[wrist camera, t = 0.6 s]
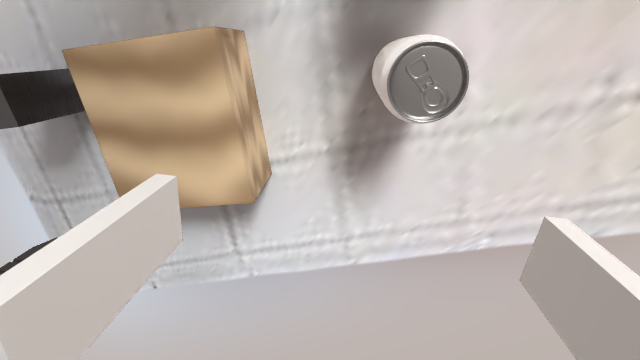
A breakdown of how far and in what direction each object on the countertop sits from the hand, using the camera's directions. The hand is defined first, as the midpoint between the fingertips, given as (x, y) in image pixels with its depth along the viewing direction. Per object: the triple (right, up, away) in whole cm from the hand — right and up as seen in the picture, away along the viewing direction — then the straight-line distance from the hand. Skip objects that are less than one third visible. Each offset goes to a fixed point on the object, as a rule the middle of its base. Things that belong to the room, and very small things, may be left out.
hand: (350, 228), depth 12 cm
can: (+8, +13, +22) cm, 27 cm away
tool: (-22, +13, +25) cm, 36 cm away
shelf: (-15, +9, +26) cm, 31 cm away
